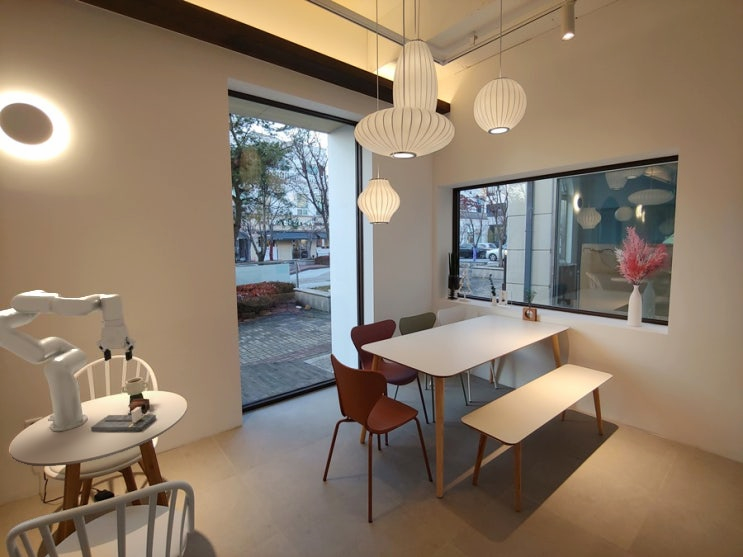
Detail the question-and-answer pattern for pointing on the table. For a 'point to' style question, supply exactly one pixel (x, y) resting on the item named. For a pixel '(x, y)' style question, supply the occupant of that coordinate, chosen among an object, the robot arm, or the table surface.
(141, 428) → the console
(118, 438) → the table surface
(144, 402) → the pottery mug
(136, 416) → the fader tab
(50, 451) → the table surface
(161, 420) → the table surface
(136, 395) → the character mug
